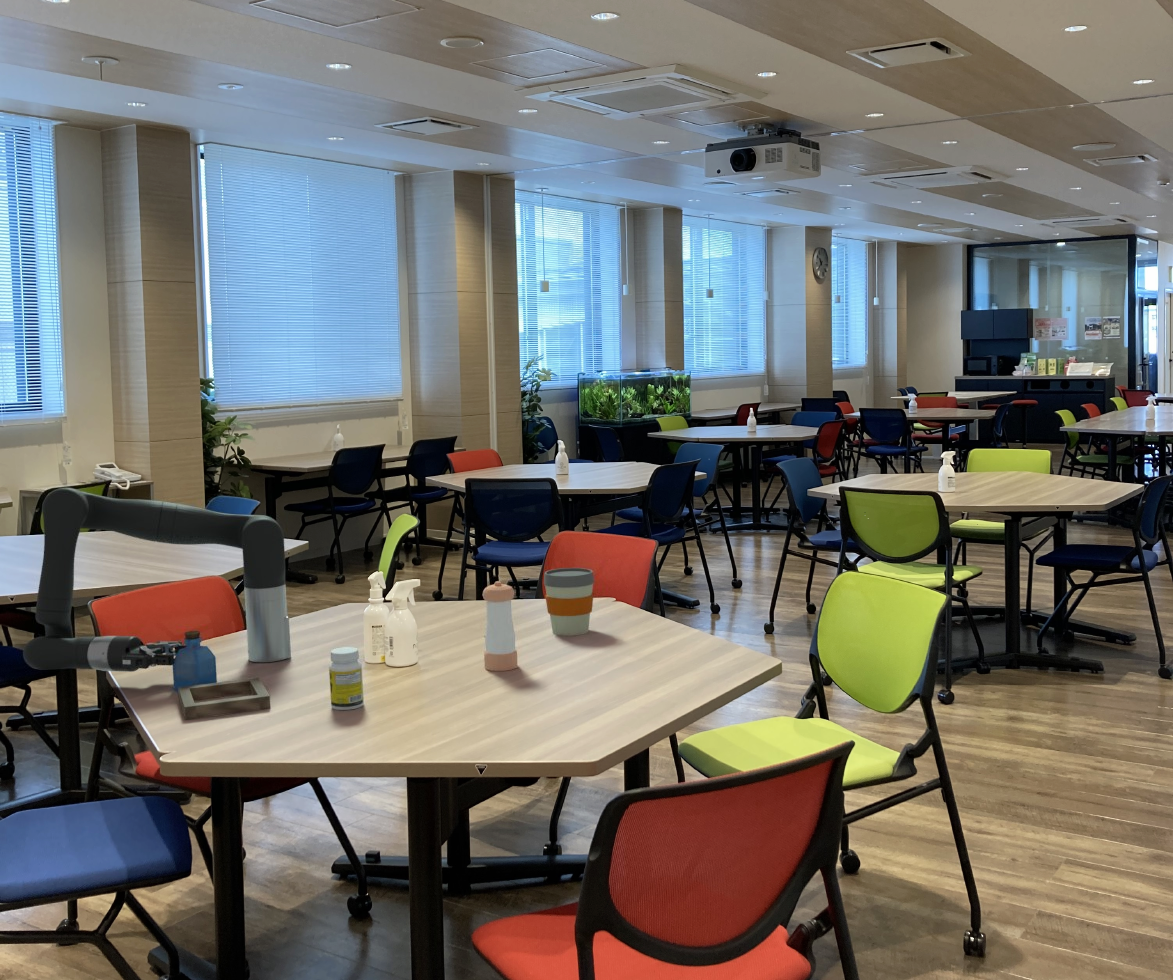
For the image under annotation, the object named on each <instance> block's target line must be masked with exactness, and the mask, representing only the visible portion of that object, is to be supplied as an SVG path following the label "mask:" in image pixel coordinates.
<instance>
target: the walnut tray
mask: <svg viewBox="0 0 1173 980" xmlns="http://www.w3.org/2000/svg"><path fill="white" fill-rule="evenodd" d="M177 693H178V701H179V704H180V707H181V710H182V713H183V716H184V720H185V721H187V720H195V719H196V720H197V719H203V718H210V717H216V716H218V717H219V716H223V715H232V714H238V713H239V714H240V713H247V712H253V711H260V710H262V711H263V710H268V709H271V696H270V694H269V692H268V691H267V689H266V687H265V685H264V684H263V683H262V681H261V679H260V678H259V677H252V678H243V679H235V680H234V679H233V680H227V681H221V682H220V681H219V682H218V681H217V683H210V684H202V685H194V686H186V687H179V688H178V691H177ZM243 694H250V695H246V696H239V697H233V698H231V697H230V698H225V699H216V700H209V701H202V702H195V701H194V700H196V701H197V700H205V699H204V698H206V699H212V698H221V697H228V696H235V695H243Z"/></svg>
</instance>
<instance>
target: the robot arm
mask: <svg viewBox="0 0 1173 980" xmlns="http://www.w3.org/2000/svg"><path fill="white" fill-rule="evenodd" d="M41 513H42V518H43V519H42V520H43V533H44V535H43V536H44V544H43V545H44V546H43V557H42V558H43V559H42V564H41V565H42V566H41V572H40V579H39V584H38V590H37V598H36V605H35V606H36V607H35V620H36V622H37V623H38V624H40V625H43V626H44V630H45V636H38V637H35V638H32V639H30V640H29V641H28V642H27V643H26V644H25V646H24V648H23V651H22V657H23V660H24V662H25V663H26V664H27V665H28V666H29V667H31V668H32V669H34V670H40V671H41V670H42V671H44V670H46V671H47V670H48V671H49V670H64V669H78V670H79V669H80V670H96V671H97V670H98V671H103V672H131V673H132V672H136V671H137V670H139V669H145V670H147V669H150V667H151V668H152V667H153V668H154V667H156V666H173V664H174V658H175V656H176V655H177V653H178V651H179V650H180V649H182V648H185V647H186V644H183V641H182V640H181V641H180V640H177V641H176V640H175V641H174V640H171V641H169V640H158V641H155V642H149V643H148V642H147V643H145V644H144V643H143V641H142V639H141V638H140V637H138V636H135V635H133V636H132V635H131V636H129V635H103V636H77V637H74V634H73V626H72V620H71V613H72V607H73V597H74V586H75V585H74V583H75V557H76V548H77V542H78V538H79V537H80V536H79V535H80V531H81V530H83V529H84V530H103V531H109V532H115V533H118V534H122V535H125V536H129V537H132V538H136V539H140V540H144V541H149V542H155V543H156V542H157V543H162V544H171V545H190V546H191V545H192V546H193V545H195V546H196V545H221V546H227V547H232V548H236V549H241V550H242V565H243V586H244V589H243V591H244V603H245V606H244V607H245V620H246V621H245V622H246V635H247V636H246V638H247V654H248V655H247V656H248V661H250V662H254V663H271V662H273V663H274V662H278V661H284V660H285V659H291V658H292V650H291V633H290V618H289V616H288V605H287V590H286V587H287V586H286V557H285V556H286V554H285V553H286V551H285V537H284V536H285V535H284V532H283V528H282V527H281V526H280V524H279V523H278V522H277V521H276V519H274V518H272V517H271V516H268V515H265V514H263V515H262V514H239V513H238V514H232V513H224V512H217V511H214V510H210V509H206V508H202V507H198V506H192V505H187V504H183V503H177V502H169V501H162V500H154V499H153V500H150V499H140V498H139V499H135V498H134V499H133V498H130V499H129V498H127V499H126V498H114V497H113V498H112V497H107V496H103V495H99V494H94V493H89V492H86V491H82V490H79V489H77V488H76V489H75V488H72V487H61V488H57V489H54V490H52V491H51V492H49V493H48V494H47V495H46V496H45V498H44V500H43V502H42V507H41Z"/></svg>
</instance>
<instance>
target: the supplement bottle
mask: <svg viewBox="0 0 1173 980" xmlns="http://www.w3.org/2000/svg"><path fill="white" fill-rule="evenodd" d="M359 653H360V652H359V649H358V648H356V647H353V646H352V647H351V646H350V647H349V646H348V647H347V646H345V647H337V648H334V649H332V650H330V661H331V662H332V663H330V665H329V666H328V671H329V672H328V673H329V674H328V675H329V687H330V688H329V691H330V704H331V708H332V709H333V710H336V711H349V710H355V709H359V708H362V706H363V705H364V687H363V686H364V684H363V665H362V662H361V661H359V659H360V658H359V657H360V655H359Z"/></svg>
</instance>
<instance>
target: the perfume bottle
mask: <svg viewBox="0 0 1173 980" xmlns="http://www.w3.org/2000/svg"><path fill="white" fill-rule="evenodd" d="M200 635H201V631H199V630H190V631H185V632H184V637H185V638H184V639H183V642H184V644H183V645H186V647H185V648H182V649H180V650H179V651H178V653H177V655H176V656H174V664H173V665H172V677H173V691H174V692H178V688H179V687H186V686H194V685H202V684H210V683H218V677H217V659H216V655H215V654H214V653H213V652H212V651H211V649H210V648H209V647H208V646H207V645H201V643H202V637H201V636H200Z"/></svg>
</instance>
